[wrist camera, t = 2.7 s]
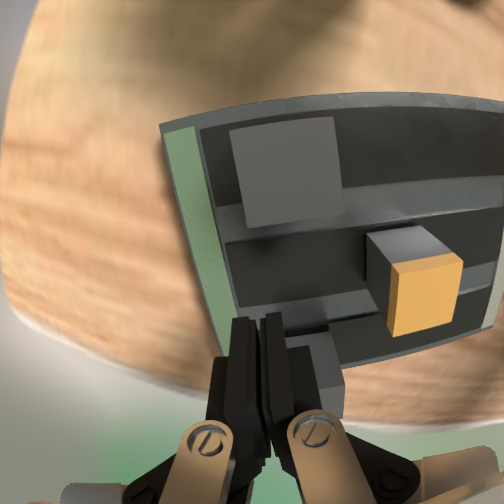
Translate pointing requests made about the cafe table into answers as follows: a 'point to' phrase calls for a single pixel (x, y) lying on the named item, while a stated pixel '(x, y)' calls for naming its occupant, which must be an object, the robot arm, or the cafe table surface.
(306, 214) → the block
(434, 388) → the cafe table surface
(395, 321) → the block
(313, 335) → the breaker far
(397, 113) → the panel
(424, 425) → the cafe table surface
